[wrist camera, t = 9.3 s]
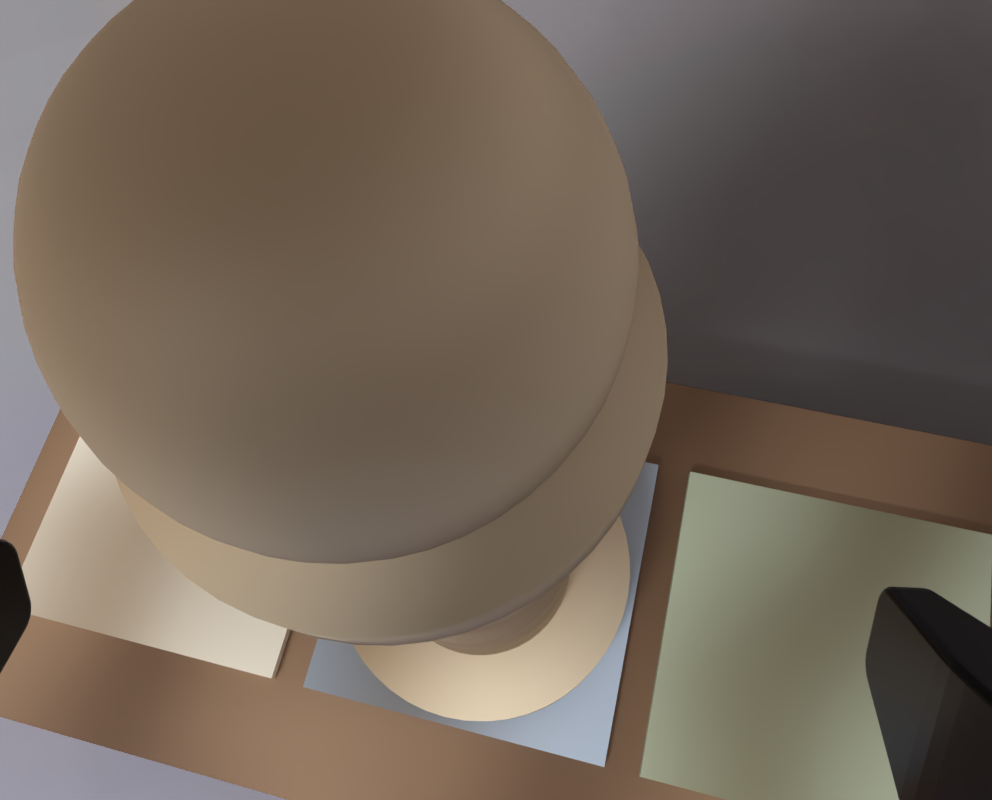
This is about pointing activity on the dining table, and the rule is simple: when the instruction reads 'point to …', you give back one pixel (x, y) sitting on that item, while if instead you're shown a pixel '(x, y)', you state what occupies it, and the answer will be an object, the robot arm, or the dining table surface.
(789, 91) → the dining table surface
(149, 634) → the game board
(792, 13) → the dining table surface
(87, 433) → the pawn
